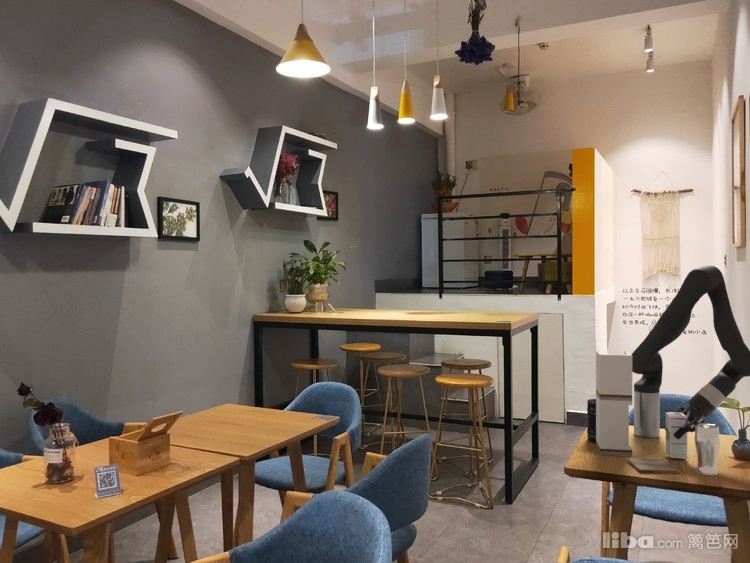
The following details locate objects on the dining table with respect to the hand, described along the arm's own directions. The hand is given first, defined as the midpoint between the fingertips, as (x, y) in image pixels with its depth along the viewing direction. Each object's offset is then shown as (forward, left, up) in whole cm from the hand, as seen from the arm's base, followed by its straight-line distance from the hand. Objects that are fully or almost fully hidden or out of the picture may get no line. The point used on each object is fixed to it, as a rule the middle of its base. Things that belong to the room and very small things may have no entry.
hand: (671, 434), depth 212 cm
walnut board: (+10, -10, -8) cm, 17 cm away
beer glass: (+15, +5, -8) cm, 18 cm away
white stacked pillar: (-9, -17, -8) cm, 21 cm away
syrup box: (0, +2, -8) cm, 8 cm away
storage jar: (-22, -17, -8) cm, 29 cm away
